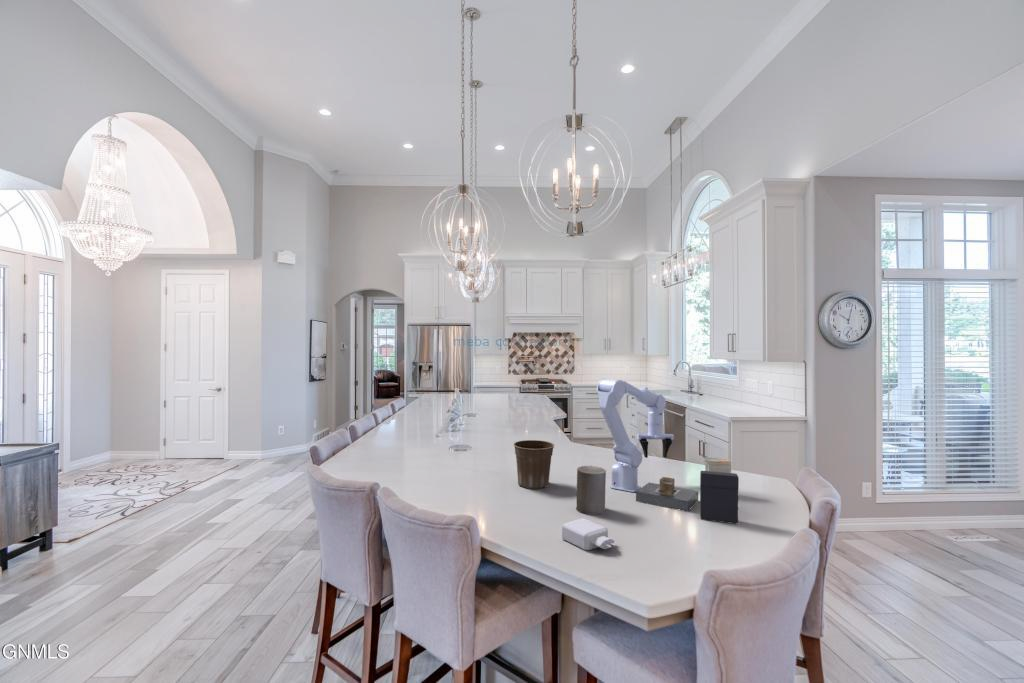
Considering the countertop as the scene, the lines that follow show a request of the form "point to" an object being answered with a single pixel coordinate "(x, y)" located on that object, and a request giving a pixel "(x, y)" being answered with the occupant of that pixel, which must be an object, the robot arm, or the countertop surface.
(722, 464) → the supplement box
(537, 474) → the plant pot
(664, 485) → the key peg
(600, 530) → the charger
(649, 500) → the grey peg hole board
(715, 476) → the black rectangular box
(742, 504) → the countertop surface
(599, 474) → the pillar candle
